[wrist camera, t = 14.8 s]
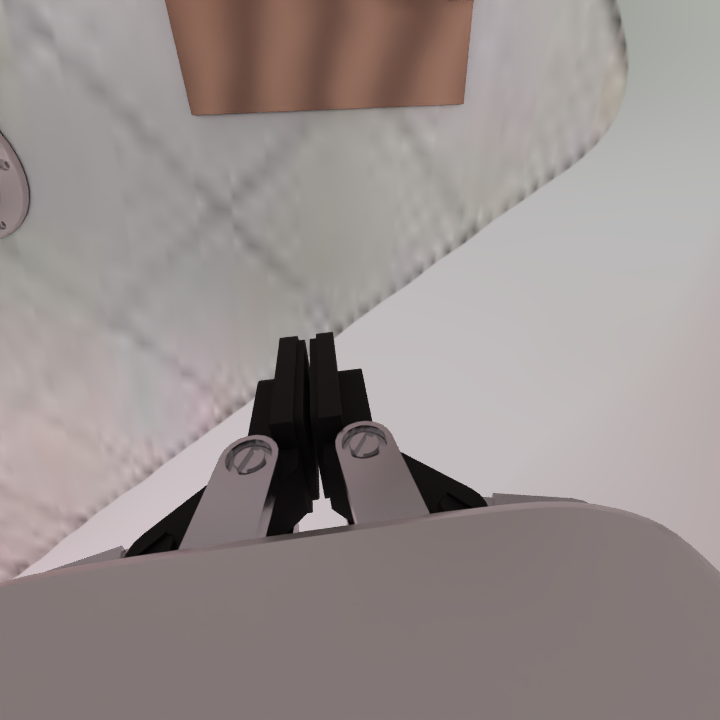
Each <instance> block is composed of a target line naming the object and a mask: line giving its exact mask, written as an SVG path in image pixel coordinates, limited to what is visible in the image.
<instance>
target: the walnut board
mask: <svg viewBox="0 0 720 720" xmlns="http://www.w3.org/2000/svg"><path fill="white" fill-rule="evenodd" d="M165 2H166V7H167V11H168V15H169V19H170V24H171V28H172V32H173V37H174V41H175V45H176V49H177V54H178V58H179V62H180V67H181V71H182V75H183V79H184V84H185V88H186V92H187V97H188V101H189V105H190V109H191V114H192V115H207V114H231V113H256V112H280V111H305V110H329V109H354V108H378V107H403V106H427V105H452V104H463V103H464V93H465V83H466V72H467V62H468V51H469V41H470V30H471V20H472V9H473V0H466V1H445V0H165Z"/></svg>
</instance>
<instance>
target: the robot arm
mask: <svg viewBox="0 0 720 720" xmlns="http://www.w3.org/2000/svg"><path fill="white" fill-rule="evenodd" d="M28 204H29V192H28V186H27V181H26V177H25V174H24V171H23V169H22V167H21V164H20V162H19V160H18V158H17V156H16V155H15V153H14V151H13V150H12V148H11V146H10V145H9V143H8V142H7V141H6V140H5V138H4V137H3V136H2V135H1V133H0V238H3V237H5V236H7V235H8V234H10V233H12V232H14V231H15V230H16V229H17V228H18V227H19V226H20V225H21V224H22V222H23V220H24V218H25V216H26V214H27V209H28ZM319 470H320V475H321V480H322V485H323V490H324V496H325V498H330V501H331V506H332V509H333V510H334V511H336V512H337V513H339V514H340V515H342V516H343V517H344V518H346V520H347V525H346V526H340V527H332V528H325V529H318V530H311V531H304V532H299V524H298V522H299V521H300V520H301V519H302V518H303V517H304V516H305V515H306V514H307V513H312V512H313V502H312V501H313V500H318V499H319ZM0 720H720V572H719V571H718V570H717V569H716V568H715V567H714V566H713V565H712V564H711V563H710V562H708V561H707V560H706V559H705V558H704V557H703V556H702V555H701V554H700V553H699V552H698V551H697V550H695V549H694V548H693V547H692V546H691V545H690V544H688V543H687V542H686V541H685V540H683V539H682V538H681V537H679V536H678V535H677V534H676V533H674V532H672V531H671V530H669V529H668V528H666V527H665V526H663V525H661V524H659V523H657V522H655V521H653V520H651V519H649V518H645V517H643V516H640V515H637V514H634V513H631V512H627V511H624V510H620V509H616V508H611V507H606V506H601V505H596V504H589V503H587V502H585V501H582V500H577V499H573V498H559V497H543V496H527V495H513V494H498V493H493V495H492V498H490V497H482V496H481V495H480V494H478V493H477V492H476V491H474V490H473V489H471V488H469V487H467V486H465V485H464V484H462V483H460V482H458V481H456V480H454V479H452V478H450V477H448V476H446V475H444V474H442V473H440V472H438V471H436V470H435V469H433V468H430V467H429V466H427V465H425V464H423V463H421V462H419V461H417V460H415V459H413V458H411V457H409V456H408V455H406V454H404V453H401V452H400V450H399V448H398V446H397V444H396V442H395V440H394V438H393V436H392V434H391V433H390V431H389V430H388V429H387V428H386V427H384V426H383V425H381V424H379V423H376V422H372V418H371V413H370V408H369V403H368V398H367V394H366V388H365V383H364V378H363V374H362V369H353V370H345V371H338V370H337V362H336V354H335V345H334V337H333V332H328V333H320V334H316V338H315V339H310V366H309V360H308V355H307V349H306V343H305V340H299V339H298V336H293V337H285V338H280V340H279V348H278V356H277V364H276V371H275V379H271V380H262V381H259V382H258V385H257V390H256V396H255V401H254V407H253V412H252V417H251V422H250V428H249V433H248V436H247V437H244V438H241V439H238V440H237V441H235V442H233V443H232V444H230V445H229V446H228V447H227V448H226V449H225V450H224V451H223V453H222V454H221V456H220V458H219V460H218V462H217V464H216V467H215V469H214V471H213V473H212V476H211V478H210V480H209V482H208V485H207V486H205V487H204V488H203V489H201V490H200V491H199V492H197V493H196V494H195V495H194V496H192V497H191V498H190V499H188V500H187V501H186V502H184V503H183V504H182V505H181V506H179V507H178V508H177V509H175V510H174V511H173V512H172V513H170V514H169V515H168V516H166V517H165V518H164V519H162V520H161V521H160V522H158V523H157V524H156V525H155V526H153V527H152V528H151V529H150V530H148V531H147V532H146V533H144V534H143V535H142V536H141V537H140V538H139V539H138V540H136V541H135V542H134V543H133V545H132V546H131V547H130V548H129V549H126V550H125V549H124V548H123V547H122V546H120V547H117V548H114V549H111V550H108V551H105V552H102V553H100V554H96V555H93V556H90V557H87V558H84V559H82V560H78V561H76V562H73V563H70V564H67V565H64V566H61V567H58V568H55V569H52V570H49V571H46V572H43V573H39V574H33V575H28V576H24V577H21V578H17V579H13V580H9V581H5V582H2V583H0Z"/></svg>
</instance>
